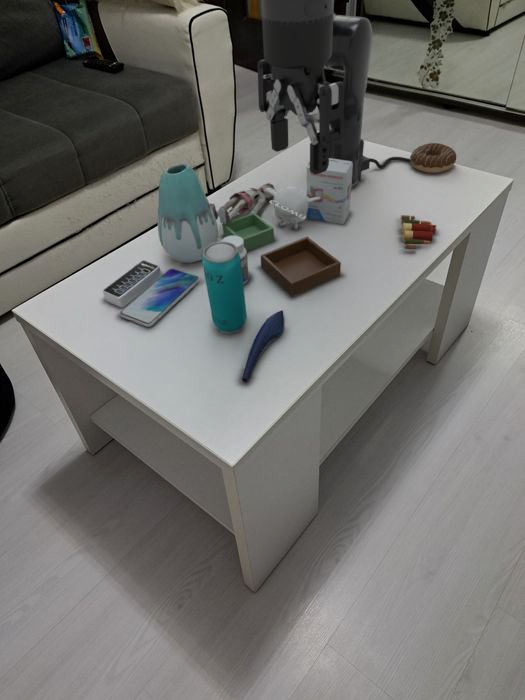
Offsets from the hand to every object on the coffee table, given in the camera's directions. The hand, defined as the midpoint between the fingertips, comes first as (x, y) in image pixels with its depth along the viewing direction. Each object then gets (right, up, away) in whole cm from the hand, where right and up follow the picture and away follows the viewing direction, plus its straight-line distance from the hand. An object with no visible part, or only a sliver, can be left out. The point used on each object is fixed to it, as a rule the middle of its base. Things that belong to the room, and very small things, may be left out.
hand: (298, 160), depth 63 cm
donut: (+36, +20, +57) cm, 71 cm away
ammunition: (+23, 0, +36) cm, 43 cm away
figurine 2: (+2, +2, +42) cm, 42 cm away
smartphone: (-23, -15, +27) cm, 39 cm away
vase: (-19, -5, +37) cm, 42 cm away
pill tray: (-7, -1, +39) cm, 40 cm away
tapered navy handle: (-4, -24, +17) cm, 30 cm away
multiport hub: (-29, -13, +30) cm, 43 cm away
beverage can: (-10, -20, +21) cm, 31 cm away
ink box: (+9, +4, +44) cm, 45 cm away
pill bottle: (-10, -11, +30) cm, 33 cm away
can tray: (+2, -9, +30) cm, 32 cm away
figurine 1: (-8, +5, +46) cm, 47 cm away
